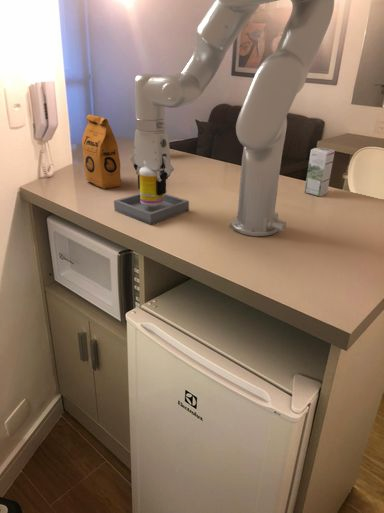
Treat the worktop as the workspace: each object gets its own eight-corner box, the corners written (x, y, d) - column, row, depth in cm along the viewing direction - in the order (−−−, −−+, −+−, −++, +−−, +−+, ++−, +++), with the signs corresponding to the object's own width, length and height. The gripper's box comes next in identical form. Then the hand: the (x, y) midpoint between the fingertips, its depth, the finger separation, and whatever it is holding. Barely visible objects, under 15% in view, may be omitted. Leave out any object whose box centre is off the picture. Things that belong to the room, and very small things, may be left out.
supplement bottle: (160, 208, 115) (159, 162, 109) (137, 206, 116) (135, 160, 110) (166, 200, 121) (166, 156, 115) (144, 198, 122) (143, 154, 116)
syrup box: (327, 193, 138) (335, 149, 132) (319, 197, 134) (327, 152, 128) (312, 189, 142) (319, 146, 135) (303, 193, 138) (310, 149, 131)
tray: (188, 210, 120) (188, 201, 119) (150, 225, 110) (150, 214, 109) (152, 198, 129) (152, 189, 128) (114, 210, 119) (113, 200, 118)
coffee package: (99, 191, 134) (93, 120, 124) (82, 181, 143) (75, 114, 133) (125, 186, 140) (122, 117, 130) (108, 177, 148) (103, 112, 138)
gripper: (184, 128, 106) (183, 195, 114) (139, 119, 116) (141, 182, 124) (163, 131, 101) (164, 201, 109) (117, 122, 111) (121, 187, 119)
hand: (152, 190), depth 117 cm, fingers closed on supplement bottle, 6 cm apart
